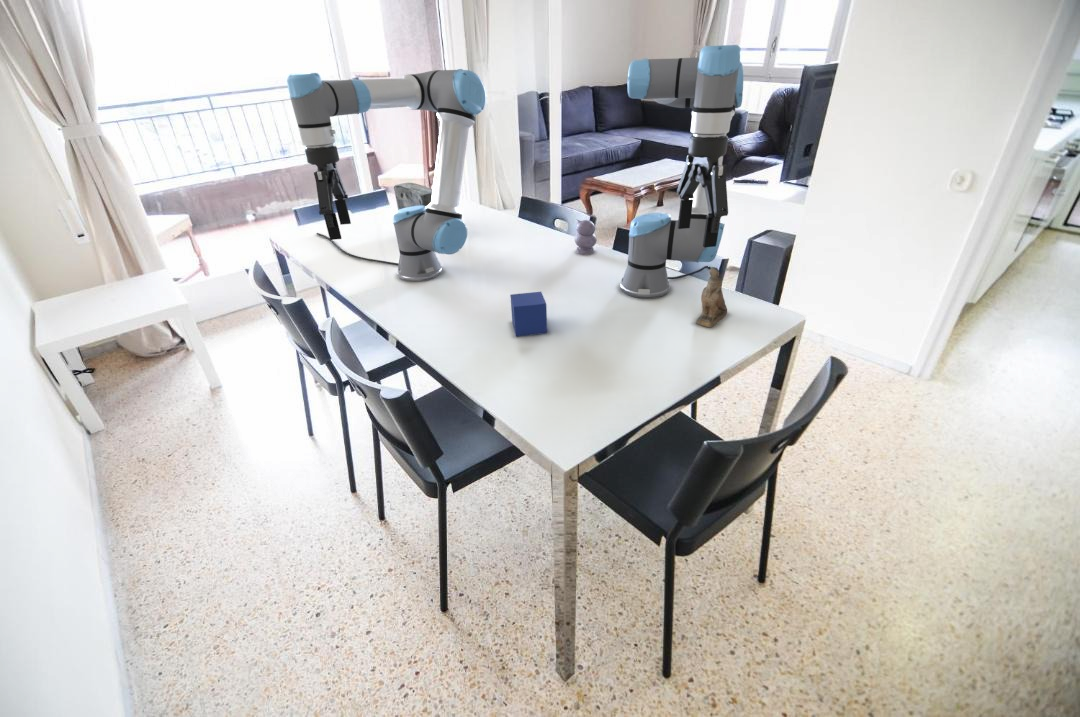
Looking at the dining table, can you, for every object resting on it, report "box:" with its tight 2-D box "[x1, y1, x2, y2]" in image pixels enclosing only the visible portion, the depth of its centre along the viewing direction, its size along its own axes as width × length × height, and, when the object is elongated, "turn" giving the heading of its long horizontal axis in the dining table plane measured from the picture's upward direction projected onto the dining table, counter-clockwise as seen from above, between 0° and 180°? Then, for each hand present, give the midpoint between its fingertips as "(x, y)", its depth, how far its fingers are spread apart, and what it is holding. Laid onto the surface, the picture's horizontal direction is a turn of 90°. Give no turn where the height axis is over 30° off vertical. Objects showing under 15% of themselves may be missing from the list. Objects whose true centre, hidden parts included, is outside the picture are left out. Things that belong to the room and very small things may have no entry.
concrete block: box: [393, 182, 433, 210], centre depth 208 cm, size 27×9×20 cm, turn 36°
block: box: [509, 291, 548, 338], centre depth 136 cm, size 9×8×9 cm
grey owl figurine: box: [574, 219, 598, 256], centre depth 186 cm, size 8×8×12 cm
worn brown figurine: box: [695, 266, 728, 328], centre depth 135 cm, size 12×6×18 cm, turn 136°
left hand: (341, 231), depth 133 cm, fingers open, 13 cm apart
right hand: (695, 237), depth 112 cm, fingers open, 13 cm apart
